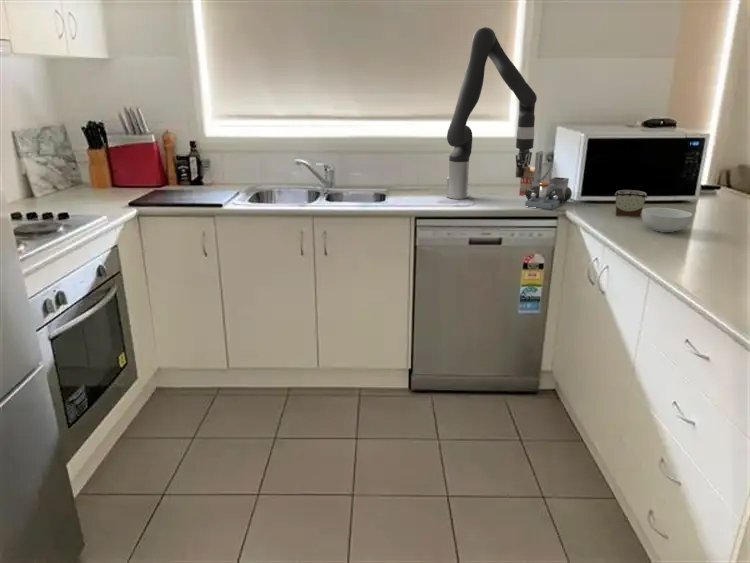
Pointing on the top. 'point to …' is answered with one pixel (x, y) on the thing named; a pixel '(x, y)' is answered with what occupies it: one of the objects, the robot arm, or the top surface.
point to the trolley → (556, 185)
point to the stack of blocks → (527, 182)
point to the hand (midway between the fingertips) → (522, 175)
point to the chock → (526, 172)
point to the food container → (629, 202)
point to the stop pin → (543, 192)
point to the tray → (542, 204)
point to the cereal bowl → (666, 219)
